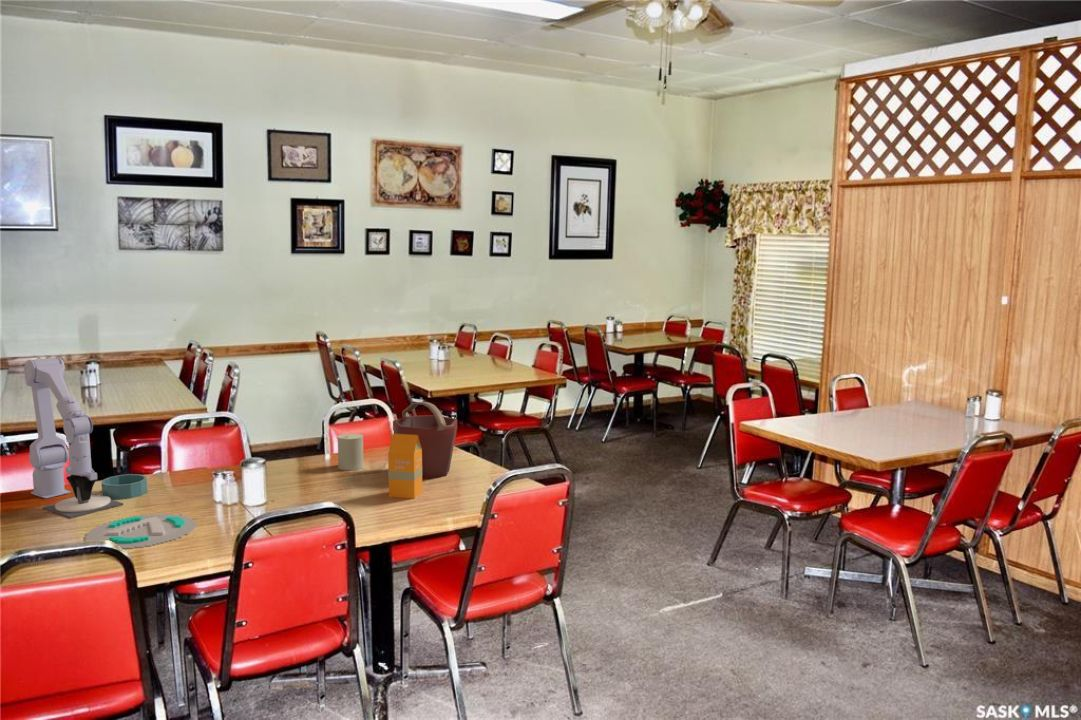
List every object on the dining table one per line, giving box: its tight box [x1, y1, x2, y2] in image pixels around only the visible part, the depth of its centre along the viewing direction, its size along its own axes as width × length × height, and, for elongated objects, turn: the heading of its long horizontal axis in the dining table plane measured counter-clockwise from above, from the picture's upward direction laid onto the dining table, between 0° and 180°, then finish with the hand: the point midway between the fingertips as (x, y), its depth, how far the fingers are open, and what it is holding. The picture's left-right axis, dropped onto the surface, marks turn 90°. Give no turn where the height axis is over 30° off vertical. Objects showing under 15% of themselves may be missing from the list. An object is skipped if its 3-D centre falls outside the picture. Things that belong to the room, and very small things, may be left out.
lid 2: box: [83, 513, 198, 550], centre depth 241 cm, size 28×28×2 cm
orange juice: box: [387, 433, 423, 499], centre depth 276 cm, size 8×9×20 cm
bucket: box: [392, 401, 458, 480], centre depth 302 cm, size 24×22×25 cm
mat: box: [42, 493, 124, 519], centre depth 262 cm, size 16×16×1 cm
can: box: [337, 432, 365, 472], centre depth 309 cm, size 9×9×12 cm
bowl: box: [101, 473, 148, 500], centre depth 276 cm, size 13×13×4 cm
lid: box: [55, 486, 112, 512], centre depth 261 cm, size 15×15×6 cm
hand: (82, 499), depth 262 cm, fingers closed on lid, 3 cm apart
